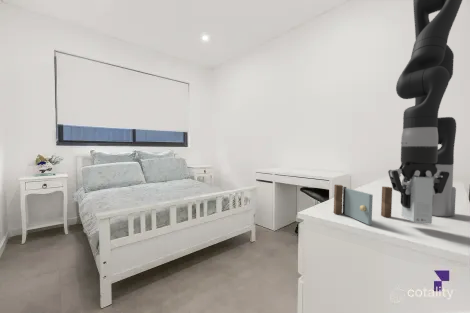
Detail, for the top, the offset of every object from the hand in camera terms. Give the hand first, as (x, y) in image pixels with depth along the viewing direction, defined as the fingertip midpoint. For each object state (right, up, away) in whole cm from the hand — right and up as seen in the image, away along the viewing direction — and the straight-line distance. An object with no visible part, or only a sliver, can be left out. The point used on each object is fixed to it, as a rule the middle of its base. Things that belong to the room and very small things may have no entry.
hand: (416, 207), depth 58 cm
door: (-12, -5, +7) cm, 15 cm away
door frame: (-8, -5, +12) cm, 16 cm away
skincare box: (0, -4, 0) cm, 4 cm away
